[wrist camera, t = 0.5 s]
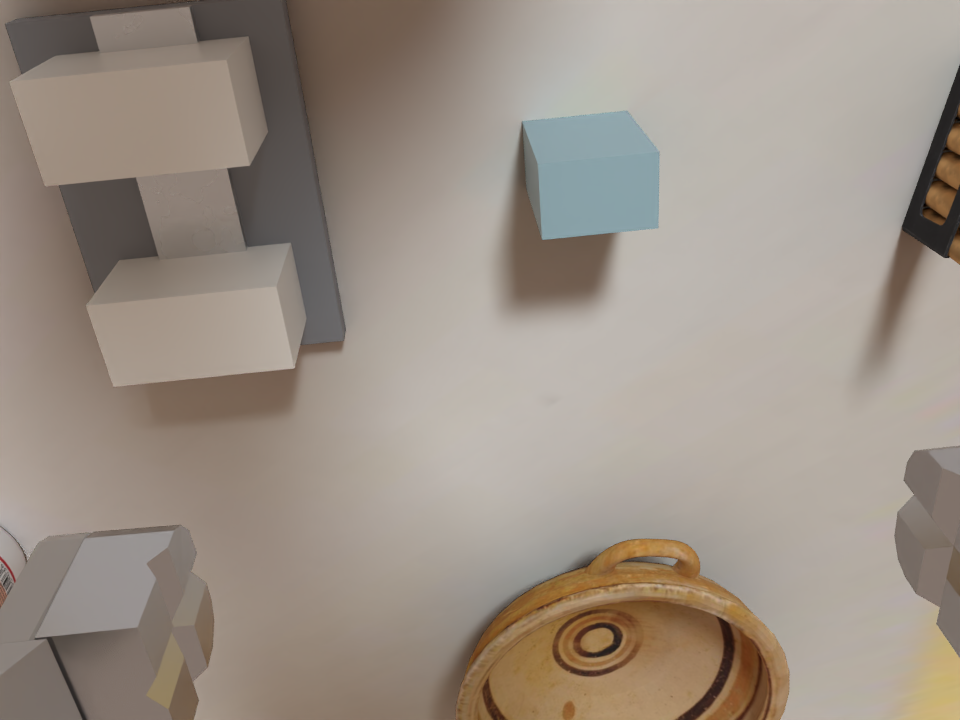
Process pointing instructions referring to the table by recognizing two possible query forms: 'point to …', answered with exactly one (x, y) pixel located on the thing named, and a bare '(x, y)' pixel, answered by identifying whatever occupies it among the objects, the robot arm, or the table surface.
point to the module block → (591, 175)
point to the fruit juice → (9, 563)
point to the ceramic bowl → (627, 647)
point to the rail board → (184, 183)
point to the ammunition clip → (940, 186)
